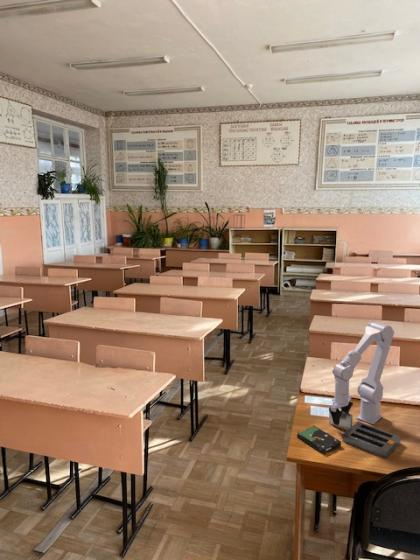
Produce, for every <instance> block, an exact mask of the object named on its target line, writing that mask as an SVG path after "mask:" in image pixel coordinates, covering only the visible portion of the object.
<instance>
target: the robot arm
mask: <svg viewBox="0 0 420 560" xmlns="http://www.w3.org/2000/svg"><path fill="white" fill-rule="evenodd" d="M364 331H365V332H364V334H363V336H362V337H361V339H360V341H359V342H358V343H357V345H356V346H355V348H354V349H350V350H349V351H348V352H347V354H346V355H345V356H344V357H343V359H342V360H341V361H340V362H339V363H337V364H335V365H334V366H333V369H331V370H332V374H333V375H334V376H333V377H334V380H335V382H334V397H333V398H331V401H332V402H333V403H332V405H331V406H330V407H329V408H328V412H329V411H330V413H331V415H332V419H333V423H334V424H335V425H339V422H340V417H341V414H342V413H343V412H346V413H348V414H350V411H351V408H352V407H353V405H354V403H353V402H352V401H351V400H352V396H351V395H349V393H350V379H352V377H353V375H354V372H355V368H356V366H358V364H359V363H360V362H361V360H362V354H364V352H365V351H366V350H367V349H368V348H369V347H370V346H371V344H372V343H375V342H376V346H375V350H374V352H373V353H374V354H373V357H372V359H371V363H370V367H369V369H368V372H367V376H366V377H364V378H362V379H361V381H360V383H359V385H358V387H357V394H358V395H359V398H360V409H359V410H360V411H359V414H358V415H357V416H356V419H357V420H361V421H363V422H366V423H369V424H372V425H375V424H376V423H377V422H378V421H379V420H380V419H382V417H383V415H381V406H382V405H381V400H382V399H383V396H384V395H383V394H384V393H383V391H384V386H383V384H382V383H381V378H382V375H383V372H384V368H385V365H386V362H387V359H388V355H389V352H390V349H391V345H392V343H393V342H392V341H393V338H394V334H395V331H394V329H393V327H392V326H391V325H388V324H383V323H381V322H379V321H376V320H370V321H369V322H368V324H367V325H366V326H365V329H364ZM339 410H340V411H339ZM342 411H343V412H342ZM335 425H334V426H335Z"/></svg>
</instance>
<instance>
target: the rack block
mask: <svg viewBox="0 0 420 560" xmlns="http://www.w3.org/2000/svg"><path fill="white" fill-rule="evenodd" d="M401 438H402V437H401V435H398V434H395V433H393V432H389V431H386V430H383V429H381V428H377V427H375V426H372V425H369V424H366V423H364V422H361V421H357V422H355V423H354V424H352V427H351V428H349V429H348V430H346V431H345V432H343V433H342V439H341V442H344V443H346V444H349V445H351V446H354V447H356V448H359V449H361V450H364V451H366V452H368V453H371V454H374V455H376V456H379V457H381V458H384V459H388V458H389V456H390V455H392V453H393V452H394V451H395V450H396V449H397V447H399V445H400V444H401V441H402V440H401Z"/></svg>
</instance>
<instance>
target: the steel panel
mask: <svg viewBox="0 0 420 560" xmlns="http://www.w3.org/2000/svg"><path fill="white" fill-rule="evenodd" d="M339 411H341V409H339ZM328 412H329V413H328V424H330V425H332V426H335V427H337V428H340V429H342V430H346V431H347V430H348V429H349V428H351V427H352V426H353V419H354V418H353V414H352V413H349V414H348V413H346V412H343V411H342V412H343V413H342V414H341V417H340V422H339V425H335V424H334V423H333V419H332V415H331V413H330V411H329V410H328Z"/></svg>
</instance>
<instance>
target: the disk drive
mask: <svg viewBox="0 0 420 560" xmlns="http://www.w3.org/2000/svg"><path fill="white" fill-rule="evenodd" d="M296 438H297V439H298V440H300V441H302V442H303V443H304V444H306V445H308V446H309V447H310V448H312V449H315V450H316V451H317V452H319V453H320V454H321V455H325V454H327V453H329V452H331V451H334V450H336V449H338V448H340V446H341V447H342V440H340V439H338V438H336V437H335V436H333V435H331V434H330V433H328V432H327V431H326V432H325V431H324V430H322V429H321V428H319V427H318V426H315V425H313V426H309V427H308V428H305V429H303V430H301V431H298V432H297V433H296Z"/></svg>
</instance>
